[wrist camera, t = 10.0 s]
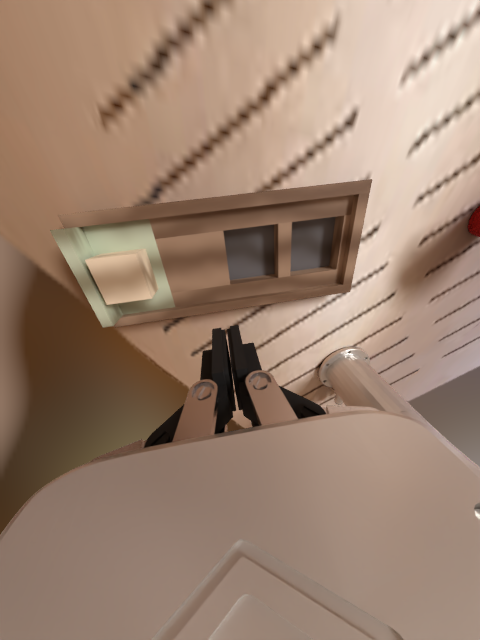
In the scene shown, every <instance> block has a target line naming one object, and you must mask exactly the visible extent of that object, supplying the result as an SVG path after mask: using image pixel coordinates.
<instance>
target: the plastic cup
mask: <svg viewBox="0 0 480 640" xmlns="http://www.w3.org/2000/svg"><path fill="white" fill-rule="evenodd" d="M468 230H469V232H470V233H471V234H473V235H475V236H478V237H480V206H479V207H478V208H477V209H476V210H475V212H474V213H473V214H472V216H471V218H470V220H469V224H468Z"/></svg>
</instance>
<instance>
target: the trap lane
mask: <svg viewBox="0 0 480 640" xmlns="http://www.w3.org/2000/svg"><path fill="white" fill-rule="evenodd" d="M371 183H372V179H370V180H362V181H353V182H344V183H335V184H326V185H318V186H309V187H300V188H291V189H282V190H274V191H265V192H256V193H247V194H238V195H230V196H221V197H212V198H203V199H194V200H186V201H177V202H168V203H159V204H150V205H142V206H133V207H124V208H115V209H106V210H98V211H89V212H80V213H71V214H62V215H58V217H59V219H60V221H61V223H62V225H63V227H64V228H65V229H58V230H50V231H51V233H52V235H53V237H54V239H55V241H56V242H57V244H58V246H59V248H60V250H61V252H62V253H63V255H64V257H65V259H66V261H67V263H68V264H69V266H70V268H71V270H72V272H73V274H74V275H75V277H76V279H77V281H78V283H79V285H80V286H81V288H82V290H83V292H84V294H85V296H86V297H87V299H88V301H89V303H90V305H91V307H92V308H93V310H94V312H95V314H96V316H97V318H98V319H99V321H100V323H101V325H102V327H110V326H114V327H120V326H126V325H133V324H140V323H146V322H153V321H160V320H166V319H173V318H179V317H186V316H193V315H199V314H206V313H213V312H219V311H226V310H232V309H239V308H246V307H252V306H259V305H266V304H272V303H279V302H285V301H292V300H299V299H305V298H312V297H318V296H325V295H332V294H338V293H345V292H350V289H351V284H352V279H353V274H354V269H355V264H356V259H357V254H358V249H359V244H360V238H361V233H362V228H363V223H364V218H365V213H366V208H367V203H368V198H369V193H370V188H371ZM144 248H146V251H147V254H148V257H149V260H150V264H151V267H152V270H153V273H154V276H155V279H156V282H157V285H158V288H159V289H158V290H157V292H156V293H155V295H154V296H153V298H152V299H146V300H138V301H131V302H124V303H117V304H110V305H107V304H106V302H105V300H104V298H103V296H102V294H101V292H100V290H99V288H98V286H97V284H96V282H95V280H94V278H93V276H92V274H91V272H90V269H89V267H88V265H87V263H86V261H85V260H86V259H89V258H91V257H94V256H97V255H99V254H103V253H111V252H119V251H128V250H136V249H144Z"/></svg>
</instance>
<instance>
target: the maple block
mask: <svg viewBox="0 0 480 640" xmlns="http://www.w3.org/2000/svg"><path fill="white" fill-rule="evenodd" d="M85 261H86V263H87V265H88V267H89V269H90V272H91V274H92V276H93V278H94V280H95V282H96V284H97V286H98V288H99V290H100V292H101V294H102V296H103V298H104V300H105V302H106V304H107V305H110V304H117V303H124V302H131V301H138V300H146V299H152V298H153V296H154V295H155V293H156V292H157V290H158V289H159V288H158V285H157V282H156V279H155V276H154V273H153V270H152V267H151V264H150V260H149V257H148V254H147V251H146V248H144V249H136V250H128V251H119V252H111V253H103V254H99V255H97V256H94V257H91V258H89V259H86V260H85Z"/></svg>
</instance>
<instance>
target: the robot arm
mask: <svg viewBox="0 0 480 640" xmlns="http://www.w3.org/2000/svg"><path fill="white" fill-rule="evenodd" d="M227 332H228V341H229V350H230V357H229V351H228V345H227V340H226V334H225V330H221V328H217V329H213V330H212V350H206V351H203V355H202V367H201V378H200V381H198V382H196V383H195V384H193V385H192V387H191V388H190V390H189V392H188V395H187V398H186V401H185V404H184V405H183V406H182V407H181V408H180V409H178V410H177V411H176V412H175V413H174V414H173V415H172V416H171V417H170V418H169V419H168V420H166V421H165V422H164V423H163V424H162V425H161V426H160V427H159V428H158V429H156V430H155V431H154V432H153V433H152V434H151V435H150V437H149V438H148V439H147V440H145V441H143V440H142V439H141V440H139V441H136V442H134V443H131V444H129V445H126V446H124V447H121V448H119V449H116V450H114V451H111V452H109V453H106V454H104V455H101V456H99V457H97V458H95V459H93V460H92V461H91V462H88V463H86V464H84V465H81V466H79V467H77V468H74V469H73V470H71V471H69V472H67V473H65V474H63V475H61V476H59V477H58V478H56V479H54V480H53V481H51V482H50V483H48V484H47V485H45V486H44V487H43V488H41V489H40V490H39V491H38V492H36V493H35V494H34V495H33V496H32V497H31V498H30V499H29V500H28V501H27V502H26V503H25V504H24V505H23V507H22V508H21V509H20V510H19V511H18V512H17V514H16V515H15V516H14V517H13V519H12V520H11V521H10V523H9V524H8V525H7V527H6V528H5V529H4V531H3V532H2V533H1V535H0V640H480V467H479V466H478V465H476V464H475V463H474V462H473V461H472V460H470V459H469V458H468V457H467V456H466V455H464V454H463V453H462V452H461V451H460V450H458V449H457V448H456V447H455V446H453V445H452V444H451V443H450V442H449V441H448V440H447V439H446V438H445V437H444V436H443V435H441V434H440V433H439V432H438V431H437V430H436V429H435V428H434V427H433V426H431V424H429V422H427V421H426V420H425V419H424V418H423V417H422V416H421V415H420V414H419V413H418V412H417V411H416V410H415V409H414V408H413V407H412V406H411V405H410V404H409V403H408V402H407V401H406V400H405V399H404V398H403V397H402V396H401V395H399V394H398V393H397V392H396V391H395V390H394V389H393V388H392V387H391V386H390V385H389V384H388V383H387V382H386V381H385V380H384V379H383V378H382V377H381V376H380V375H379V374H378V373H377V372H376V371H375V370H374V369H373V368H372V367H371V366H370V365H369V364H370V358H369V355H368V354H367V353H366V352H365V351H364V350H362V349H360V348H357V347H347V348H343V349H340V350H338V351H335V352H334V353H332V354H331V355H329V356H328V357H327V358H326V359H325V360H324V361H323V363H322V364H321V366H320V368H319V371H318V376H319V379H320V380H321V382H322V383H323V384H324V385H325V386H327V387H330V388H333V389H334V390H335V394H336V395H335V399H334V402H335V403H336V404H338V405H341V404H342V402H343V403H344V404H345V406H331V405H327V407H326V408H322V407H321V406H319V405H318V404H316V403H314V402H312V401H310V400H308V399H306V398H303V397H301V396H299V395H297V394H295V393H293V392H291V391H289V390H287V389H285V388H282V387H280V386H278V384H277V382H276V380H275V379H274V377H273V376H272V375H271V374H270V373H269V372H267V371H264V370H262V369H261V366H260V362H259V359H258V356H257V353H256V349H255V346H254V343H248V344H242V340H241V335H240V331H239V326H238V325H236V326H230V329H227ZM230 359H231V362H230ZM231 368H232V370H231ZM232 374H233V379H232ZM233 380H234V385H235V391H236V396H237V402H238V407H239V410H242V409H243V415H244V416H245V417H246V418H248V419H249V420H251V424H252V428H246V429H241V430H235V431H230V432H227V423H228V422H229V421H230V419H231V418H233V412H232V411H236V406H235V397H234V388H233Z"/></svg>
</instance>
